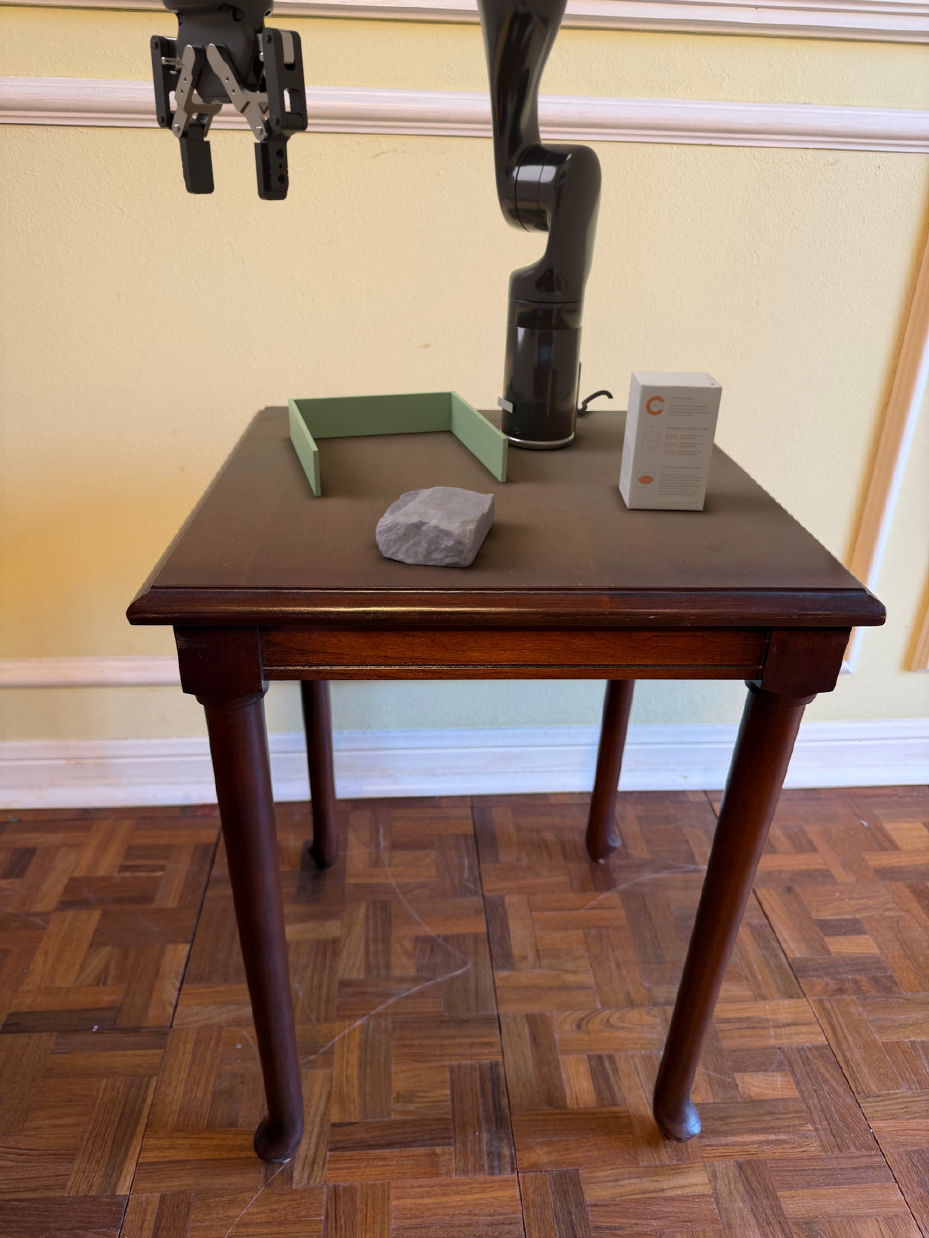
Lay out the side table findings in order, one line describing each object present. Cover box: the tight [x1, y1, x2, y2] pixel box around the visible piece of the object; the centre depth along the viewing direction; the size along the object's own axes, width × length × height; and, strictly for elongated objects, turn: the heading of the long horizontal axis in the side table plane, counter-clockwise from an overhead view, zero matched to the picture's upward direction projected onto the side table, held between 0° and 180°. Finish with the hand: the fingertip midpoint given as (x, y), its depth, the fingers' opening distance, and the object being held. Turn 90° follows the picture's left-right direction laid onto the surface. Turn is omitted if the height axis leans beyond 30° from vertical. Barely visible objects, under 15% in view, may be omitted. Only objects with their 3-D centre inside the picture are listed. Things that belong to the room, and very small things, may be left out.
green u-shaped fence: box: [287, 390, 509, 497], centre depth 103 cm, size 21×21×5 cm
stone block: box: [375, 485, 496, 568], centre depth 82 cm, size 12×5×10 cm
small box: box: [618, 370, 723, 511], centre depth 91 cm, size 8×6×13 cm
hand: (235, 197), depth 67 cm, fingers open, 8 cm apart
